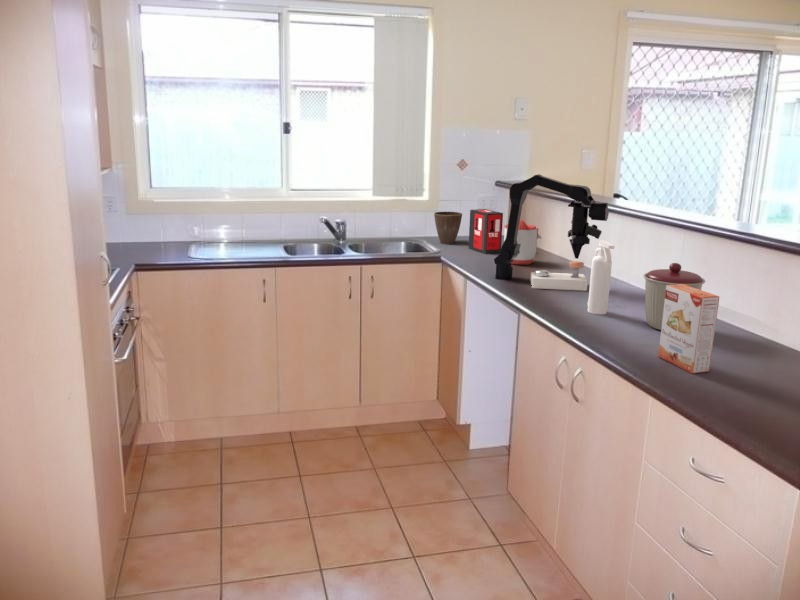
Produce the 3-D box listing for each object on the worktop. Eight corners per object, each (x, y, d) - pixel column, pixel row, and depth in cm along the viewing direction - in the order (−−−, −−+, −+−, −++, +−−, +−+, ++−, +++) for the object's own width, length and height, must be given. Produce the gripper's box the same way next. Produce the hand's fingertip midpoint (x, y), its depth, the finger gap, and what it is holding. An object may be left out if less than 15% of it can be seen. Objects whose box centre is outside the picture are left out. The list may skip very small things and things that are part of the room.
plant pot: (447, 246, 357) (448, 215, 353) (427, 242, 368) (428, 212, 364) (466, 243, 367) (468, 213, 363) (446, 239, 378) (447, 210, 374)
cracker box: (656, 357, 191) (665, 284, 185) (674, 355, 192) (683, 283, 187) (691, 374, 178) (701, 296, 172) (710, 372, 180) (721, 295, 174)
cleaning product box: (500, 253, 342) (503, 213, 337) (485, 254, 338) (487, 213, 333) (483, 247, 356) (485, 209, 351) (468, 248, 352) (470, 209, 347)
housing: (532, 288, 269) (532, 278, 268) (530, 281, 280) (530, 271, 279) (586, 290, 266) (587, 280, 265) (582, 283, 278) (583, 274, 277)
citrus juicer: (542, 266, 310) (545, 222, 305) (504, 265, 311) (506, 222, 306) (536, 260, 326) (539, 218, 321) (500, 259, 326) (502, 217, 321)
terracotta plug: (569, 276, 269) (570, 263, 268) (567, 273, 275) (568, 260, 273) (583, 277, 269) (584, 264, 267) (581, 274, 274) (582, 261, 273)
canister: (685, 320, 228) (693, 258, 222) (708, 336, 210) (717, 269, 205) (631, 319, 228) (637, 257, 223) (648, 335, 211) (656, 268, 205)
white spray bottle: (598, 305, 244) (603, 236, 236) (613, 316, 232) (620, 243, 225) (580, 306, 242) (585, 237, 235) (594, 317, 231) (600, 244, 224)
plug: (534, 285, 272) (535, 272, 270) (533, 282, 277) (534, 269, 276) (549, 286, 271) (550, 273, 270) (547, 282, 276) (548, 270, 275)
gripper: (605, 222, 256) (601, 263, 260) (597, 216, 274) (594, 254, 278) (574, 221, 257) (571, 262, 261) (569, 215, 275) (566, 253, 279)
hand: (576, 258), depth 270 cm, fingers closed
